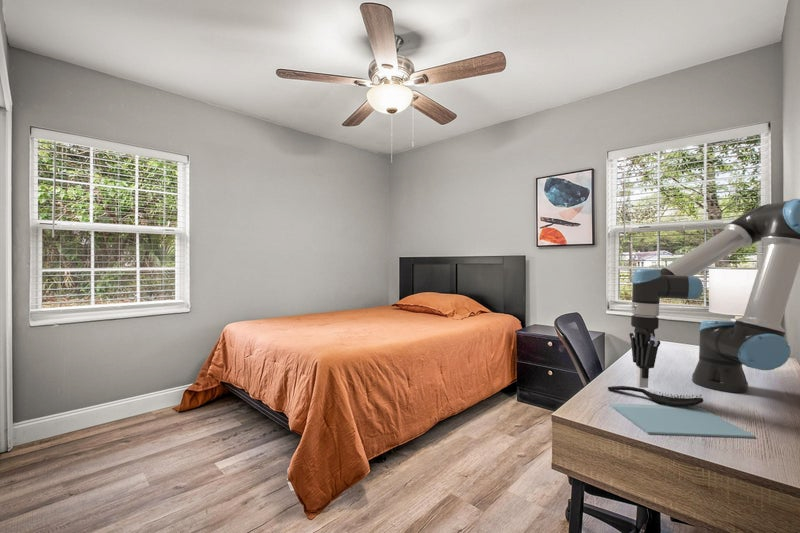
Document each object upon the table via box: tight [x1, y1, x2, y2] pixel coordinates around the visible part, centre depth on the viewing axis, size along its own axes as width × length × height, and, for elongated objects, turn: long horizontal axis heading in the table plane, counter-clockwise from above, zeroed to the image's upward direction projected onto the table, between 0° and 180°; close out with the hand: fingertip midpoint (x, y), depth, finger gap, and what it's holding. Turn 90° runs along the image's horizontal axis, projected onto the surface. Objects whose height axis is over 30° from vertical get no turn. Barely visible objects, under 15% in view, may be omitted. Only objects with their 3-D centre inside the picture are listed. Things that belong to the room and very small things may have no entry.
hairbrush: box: [607, 385, 704, 407], centre depth 117 cm, size 8×4×25 cm
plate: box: [606, 402, 756, 439], centre depth 103 cm, size 26×20×1 cm
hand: (642, 386), depth 123 cm, fingers closed
